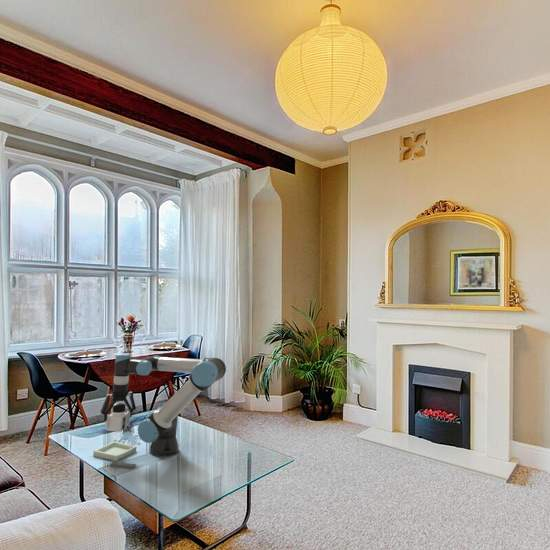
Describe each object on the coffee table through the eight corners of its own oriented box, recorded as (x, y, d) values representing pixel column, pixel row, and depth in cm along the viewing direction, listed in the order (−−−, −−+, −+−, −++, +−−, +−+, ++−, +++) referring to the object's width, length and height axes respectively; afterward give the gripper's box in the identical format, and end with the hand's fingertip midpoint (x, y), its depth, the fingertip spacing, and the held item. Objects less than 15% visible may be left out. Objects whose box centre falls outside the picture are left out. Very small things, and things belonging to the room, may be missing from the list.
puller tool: (135, 467, 201) (136, 464, 201) (133, 469, 199) (133, 466, 199) (112, 464, 202) (112, 461, 202) (109, 466, 200) (110, 463, 200)
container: (127, 427, 219) (129, 402, 220) (120, 432, 212) (122, 406, 212) (113, 425, 220) (115, 401, 221) (106, 430, 213) (108, 405, 213)
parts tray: (136, 451, 220) (136, 446, 220) (116, 461, 206) (117, 456, 206) (113, 445, 225) (113, 441, 225) (93, 455, 211) (93, 450, 211)
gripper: (139, 379, 227) (135, 419, 226) (96, 383, 212) (92, 426, 211) (144, 382, 222) (141, 423, 221) (100, 387, 206) (97, 431, 206)
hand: (117, 425), depth 216 cm, fingers closed on container, 10 cm apart
